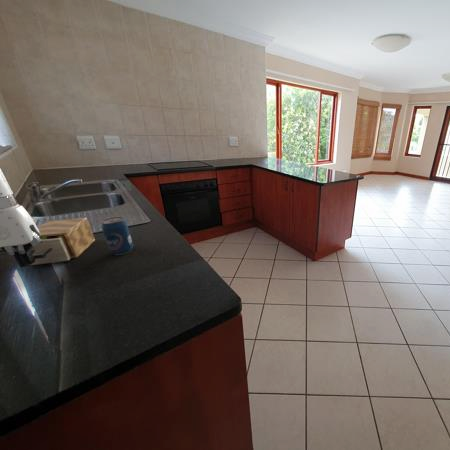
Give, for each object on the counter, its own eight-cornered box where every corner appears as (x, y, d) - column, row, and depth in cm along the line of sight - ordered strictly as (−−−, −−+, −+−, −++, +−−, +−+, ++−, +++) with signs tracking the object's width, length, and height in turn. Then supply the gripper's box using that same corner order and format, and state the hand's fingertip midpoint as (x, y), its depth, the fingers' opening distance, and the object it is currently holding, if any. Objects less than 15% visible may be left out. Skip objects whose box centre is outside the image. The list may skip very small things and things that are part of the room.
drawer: (59, 269, 73) (48, 246, 69) (15, 274, 70) (2, 251, 67) (87, 243, 88) (79, 224, 85) (52, 247, 85) (43, 227, 82)
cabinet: (77, 257, 80) (66, 232, 77) (33, 262, 77) (20, 236, 73) (95, 240, 92) (86, 217, 89) (58, 244, 89) (48, 220, 85)
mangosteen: (45, 257, 78) (29, 246, 72) (50, 243, 81) (35, 232, 75) (64, 254, 79) (50, 244, 74) (68, 241, 82) (55, 230, 77)
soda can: (106, 256, 81) (95, 224, 76) (116, 247, 87) (106, 217, 83) (129, 255, 82) (119, 223, 78) (137, 245, 89) (128, 215, 84)
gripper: (-59, 211, 56) (-17, 275, 63) (19, 205, 59) (50, 267, 67) (-28, 202, 63) (7, 261, 70) (40, 197, 66) (67, 254, 73)
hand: (28, 264), depth 68 cm, fingers closed
